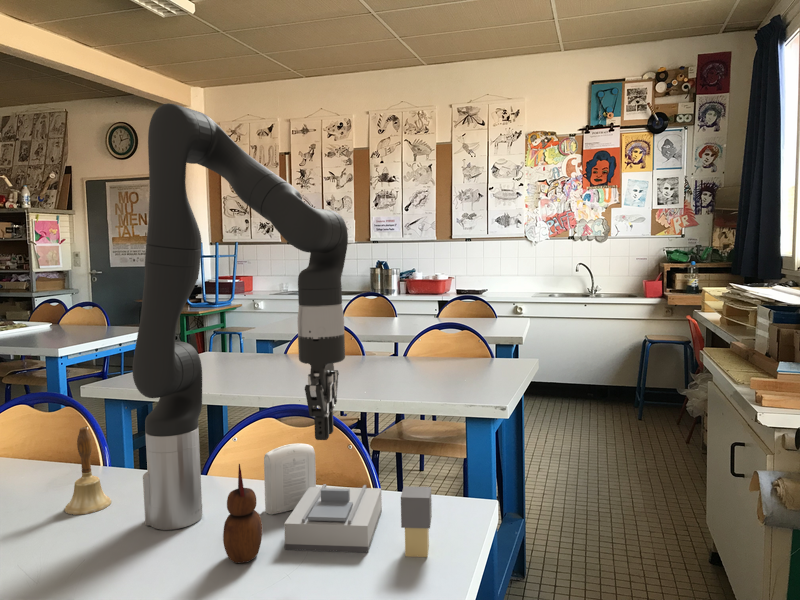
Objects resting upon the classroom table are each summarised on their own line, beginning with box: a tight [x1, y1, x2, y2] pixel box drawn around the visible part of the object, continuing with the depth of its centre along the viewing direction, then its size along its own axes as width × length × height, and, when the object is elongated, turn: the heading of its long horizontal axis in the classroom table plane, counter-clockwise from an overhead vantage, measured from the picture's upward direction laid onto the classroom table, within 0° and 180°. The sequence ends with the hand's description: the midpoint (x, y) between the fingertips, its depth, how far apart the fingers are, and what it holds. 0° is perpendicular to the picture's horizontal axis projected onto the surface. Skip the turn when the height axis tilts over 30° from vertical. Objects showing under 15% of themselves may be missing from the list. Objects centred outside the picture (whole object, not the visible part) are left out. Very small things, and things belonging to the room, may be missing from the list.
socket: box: [283, 483, 383, 554], centre depth 107 cm, size 14×16×5 cm
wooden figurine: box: [222, 463, 263, 564], centre depth 97 cm, size 7×6×15 cm
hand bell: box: [64, 426, 112, 516], centre depth 119 cm, size 8×8×16 cm
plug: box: [400, 485, 433, 558], centre depth 98 cm, size 5×5×10 cm
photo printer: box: [263, 442, 317, 515], centre depth 117 cm, size 10×4×12 cm, turn 123°
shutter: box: [308, 488, 353, 521], centre depth 103 cm, size 6×7×3 cm
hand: (324, 436), depth 99 cm, fingers open, 2 cm apart
